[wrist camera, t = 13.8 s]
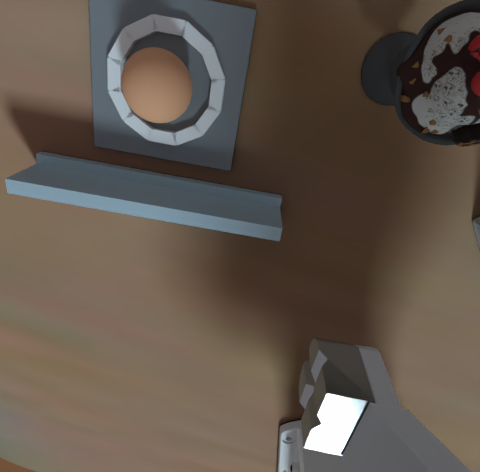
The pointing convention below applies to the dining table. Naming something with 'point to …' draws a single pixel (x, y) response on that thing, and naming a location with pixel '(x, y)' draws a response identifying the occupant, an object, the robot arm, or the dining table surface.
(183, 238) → the dining table surface
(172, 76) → the ball
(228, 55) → the mat
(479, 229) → the coffee box
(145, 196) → the low wall
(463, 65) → the sundae
